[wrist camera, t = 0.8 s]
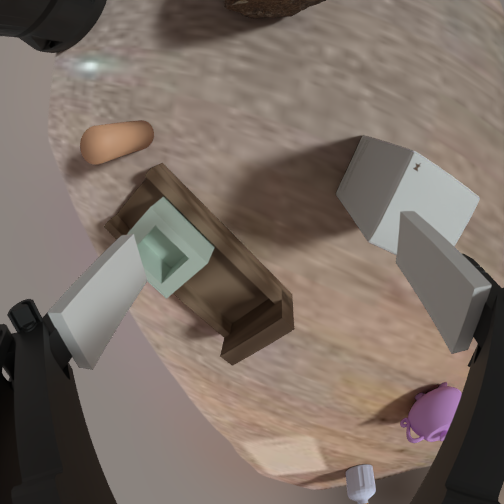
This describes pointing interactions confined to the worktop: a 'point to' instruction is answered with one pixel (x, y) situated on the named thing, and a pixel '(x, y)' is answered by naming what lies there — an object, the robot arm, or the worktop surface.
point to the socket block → (170, 247)
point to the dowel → (115, 140)
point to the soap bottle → (360, 483)
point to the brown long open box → (218, 272)
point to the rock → (269, 7)
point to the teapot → (432, 413)
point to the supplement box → (401, 193)
